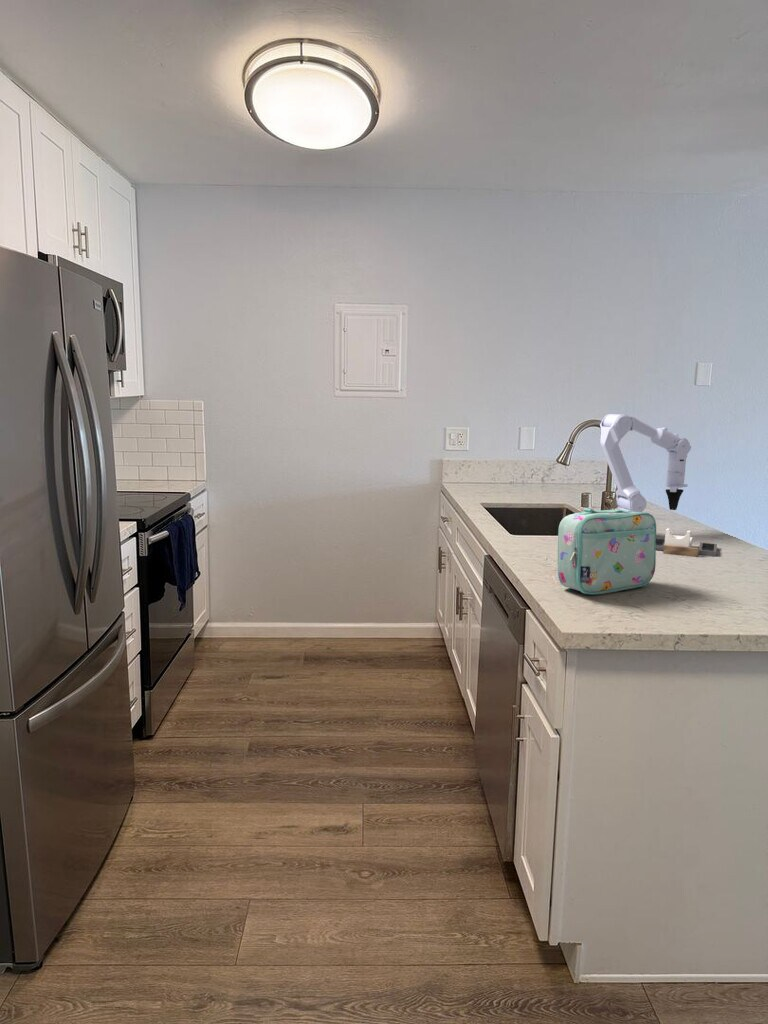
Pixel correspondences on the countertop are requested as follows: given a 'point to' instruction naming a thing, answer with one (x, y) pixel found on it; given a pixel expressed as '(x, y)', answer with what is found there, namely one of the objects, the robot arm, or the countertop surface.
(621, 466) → the robot arm
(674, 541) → the bracket
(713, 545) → the trap pits
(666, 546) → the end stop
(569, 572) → the lunch box
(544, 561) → the countertop surface
